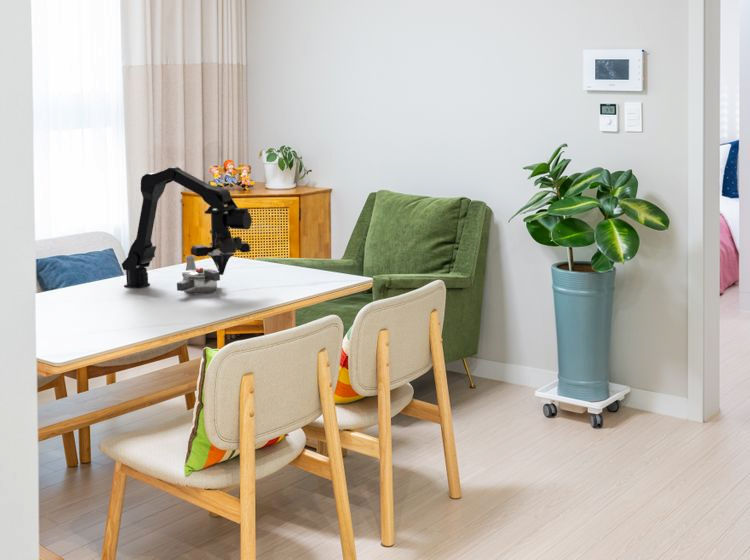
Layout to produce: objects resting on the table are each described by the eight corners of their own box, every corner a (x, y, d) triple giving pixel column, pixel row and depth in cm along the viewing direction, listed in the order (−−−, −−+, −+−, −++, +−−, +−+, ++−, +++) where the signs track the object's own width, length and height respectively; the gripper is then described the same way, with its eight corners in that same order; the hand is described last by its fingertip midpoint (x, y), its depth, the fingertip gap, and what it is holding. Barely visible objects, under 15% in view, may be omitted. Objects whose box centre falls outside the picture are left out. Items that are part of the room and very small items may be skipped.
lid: (176, 274, 319) (175, 267, 319) (207, 270, 326) (206, 263, 326) (201, 282, 306) (200, 275, 305) (232, 278, 313) (232, 271, 312)
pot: (200, 284, 329) (199, 270, 328) (227, 287, 325) (227, 272, 324) (165, 296, 311) (165, 281, 310) (194, 299, 306) (194, 283, 305)
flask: (197, 287, 325) (196, 258, 323) (177, 286, 326) (176, 257, 324) (205, 283, 331) (204, 255, 330) (185, 282, 333) (184, 254, 331)
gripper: (202, 233, 299) (203, 281, 302) (256, 228, 308) (257, 276, 311) (189, 228, 308) (191, 275, 311) (242, 224, 318) (243, 270, 321)
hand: (221, 274), depth 313 cm, fingers closed
